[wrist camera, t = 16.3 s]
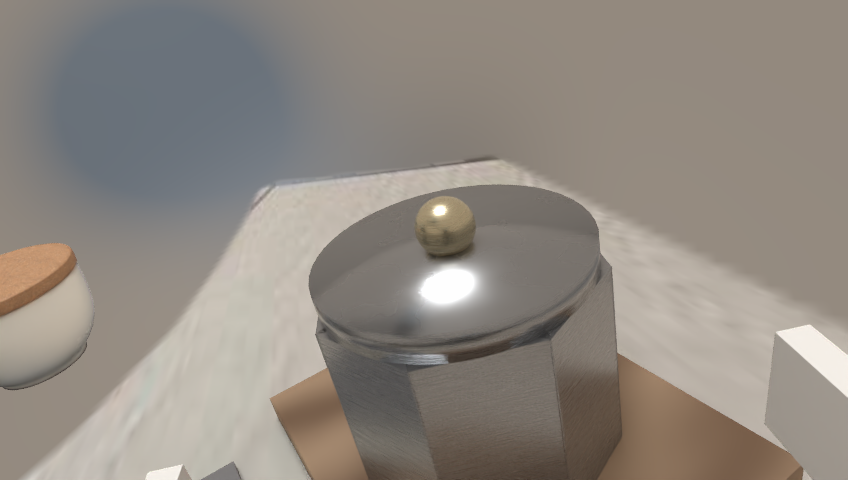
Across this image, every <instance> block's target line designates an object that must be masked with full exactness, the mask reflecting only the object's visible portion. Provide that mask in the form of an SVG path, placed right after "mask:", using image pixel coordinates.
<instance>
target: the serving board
mask: <svg viewBox="0 0 848 480" xmlns="http://www.w3.org/2000/svg"><path fill="white" fill-rule="evenodd" d="M617 357H618V373H619V389H620V405H621V421H622V438H621V440H620V441H619V443H618V445H617V447H616V448H615V450H614V452H613V453H612V455H611V457H610V459H609V460H608V462H607V464H606V465H605V467H604V469H603V471H602V472H601V474H600V476H599V477H598V479H597V480H802V476H803V468H802V466H801V465H800V464H799V463H798V462H797V461H796V460H795V458H794V457H793V456H792V455H791V454H790V453H788V452H787V451H785V450H783V449H782V448H780V447H778V446H776V445H775V444H773V443H771V442H769V441H768V440H766V439H764V438H763V437H761V436H759V435H757V434H756V433H754V432H752V431H751V430H749V429H747V428H745V427H744V426H742V425H740V424H739V423H737V422H735V421H733V420H732V419H730V418H728V417H727V416H725V415H723V414H721V413H720V412H718V411H716V410H715V409H713V408H711V407H709V406H708V405H706V404H704V403H702V402H701V401H699V400H697V399H696V398H694V397H692V396H690V395H689V394H687V393H685V392H684V391H682V390H680V389H678V388H677V387H675V386H673V385H672V384H670V383H668V382H666V381H665V380H663V379H661V378H660V377H658V376H656V375H654V374H653V373H651V372H649V371H647V370H646V369H644V368H642V367H641V366H639V365H637V364H635V363H634V362H632V361H630V360H629V359H627V358H625V357H623V356H622V355H620V354H618V353H617ZM270 400H271V403H272V405H273V407H274V409H275V412H276V414H277V416H278V418H279V420H280V422H281V424H282V426H283V428H284V429H285V431H286V433H287V435H288V437H289V439H290V440H291V442H292V444H293V446H294V448H295V450H296V451H297V453H298V455H299V457H300V459H301V461H302V463H303V464H304V466H305V468H306V470H307V472H308V474H309V475H310V477H311V479H312V480H368V477H367V474H366V471H365V469H364V466H363V463H362V460H361V458H360V455H359V452H358V450H357V447H356V444H355V441H354V439H353V436H352V433H351V430H350V428H349V425H348V422H347V420H346V417H345V414H344V411H343V409H342V406H341V403H340V401H339V398H338V395H337V392H336V390H335V387H334V384H333V381H332V379H331V376H330V373H329V371H328V368H326V369H324V370H322V371H321V372H319V373H317V374H315V375H313V376H311V377H309V378H307V379H306V380H304V381H302V382H300V383H298V384H296V385H294V386H292V387H291V388H289V389H287V390H285V391H283V392H281V393H279V394H278V395H276V396H274V397H272V398H270Z"/></svg>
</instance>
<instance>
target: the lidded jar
mask: <svg viewBox="0 0 848 480" xmlns="http://www.w3.org/2000/svg"><path fill="white" fill-rule="evenodd" d="M93 320H94V302H93V298H92V294H91V291H90V289H89V286H88V283H87V281H86V278H85V276H84V275H83V272H82V270H81V268H80V267H79V265H78V263H77V259H76V257H75V254H74V252H73V251H72V249H71V248H70V247H69V246H67V245H64V244H59V243H51V244H41V245H35V246H31V247H26V248H22V249H18V250H15V251H12V252H9V253H5V254H3V255H0V387H3V388H4V389H8V390H18V389H24V388H28V387H31V386H34V385H37V384H39V383H42V382H44V381H46V380H48V379H50V378H52V377H54V376H56V375H58V374H59V373H61V372H62V371H64V370H65V369H67V368H68V367H70V366H71V365H72V364H73V363H74V362H75V361H77V359H79V358H80V357H81V355H82V354H83V353H84V351H85V349H86V347H87V343H86V340H87V339H88V337H89V334H90V332H91V329H92V326H93Z"/></svg>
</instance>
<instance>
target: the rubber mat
mask: <svg viewBox="0 0 848 480" xmlns="http://www.w3.org/2000/svg"><path fill="white" fill-rule="evenodd" d="M201 480H241V478H240V475H239V473H238V470H237V468H236V466H235V464H234V462H231V463H230V464H228V465H226V466H224V467H222V468H221V469H219V470H217V471H215V472H214V473H212V474H210V475H208V476H207V477H205V478H203V479H201Z"/></svg>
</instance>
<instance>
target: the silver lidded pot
mask: <svg viewBox="0 0 848 480" xmlns="http://www.w3.org/2000/svg"><path fill="white" fill-rule="evenodd" d="M309 290H310V295H311V298H312V300H313V303H314V306H315V309H316V312H317V314H318V321H317V329H316V334H315V335H316V338H317V341H318V343H319V346H320V349H321V351H322V354H323V357H324V360H325V362H326V365H327V368H328V371H329V373H330V376H331V379H332V381H333V384H334V387H335V390H336V392H337V395H338V398H339V401H340V403H341V406H342V409H343V411H344V414H345V417H346V420H347V422H348V425H349V428H350V430H351V433H352V436H353V439H354V441H355V444H356V447H357V450H358V452H359V455H360V458H361V460H362V463H363V466H364V469H365V471H366V474H367V477H368V480H597V479H598V477H599V476H600V474H601V472H602V471H603V469H604V467H605V465H606V464H607V462H608V460H609V459H610V457H611V455H612V453H613V452H614V450H615V448H616V447H617V445H618V443H619V441H620V440H621V438H622V421H621V405H620V389H619V373H618V357H617V341H616V325H615V309H614V293H613V278H612V266H610V264H609V263H608V262H607V261H606V259H605V258H604V257H603V256H602V255H601V253H600V244H599V231H598V227H597V224H596V222H595V219H594V218H593V217H592V215H591V214H590V212H589V211H587V210H586V209H585V208H584V207H583V206H582V205H580V204H579V203H577V202H576V201H574V200H572V199H570V198H568V197H566V196H564V195H561V194H558V193H555V192H552V191H549V190H545V189H540V188H535V187H528V186H519V185H477V186H467V187H459V188H453V189H447V190H442V191H437V192H432V193H429V194H425V195H421V196H417V197H414V198H411V199H408V200H404V201H402V202H399V203H396V204H393V205H391V206H388V207H386V208H384V209H381V210H379V211H377V212H375V213H373V214H371V215H369V216H367V217H365V218H363V219H362V220H360V221H358V222H356V223H355V224H353V225H352V226H350V227H349V228H347V229H346V230H344V231H343V232H342V233H340V234H339V235H338V236H337V237H336V238H334V239H333V240H332V241H331V242H330V243H329V244H328V245H327V246H326V247H325V248H324V249H323V250H322V252H321V253H320V254H319V256H318V257H317V259H316V261H315V262H314V264H313V266H312V269H311V272H310V275H309Z"/></svg>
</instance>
